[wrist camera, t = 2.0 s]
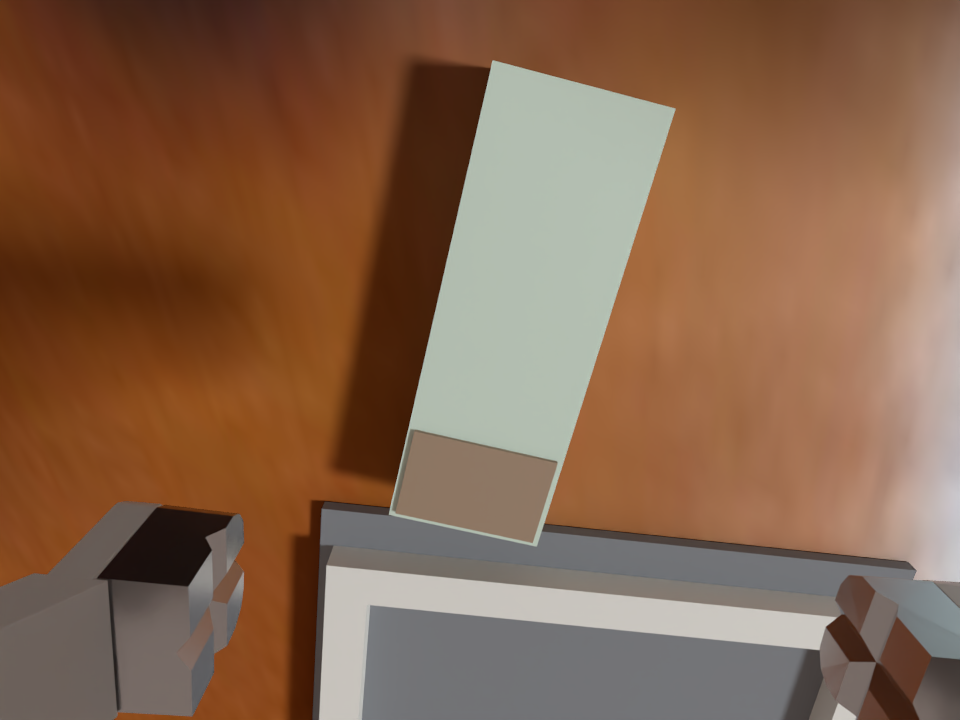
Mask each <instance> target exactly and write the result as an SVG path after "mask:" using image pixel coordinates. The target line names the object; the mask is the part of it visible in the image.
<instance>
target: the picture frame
mask: <svg viewBox="0 0 960 720" xmlns="http://www.w3.org/2000/svg"><path fill="white" fill-rule="evenodd" d="M389 511H390V508H383V507H374V506H364V505H354V504H345V503H335V502H326V501H325V502H324V504H323V507H322V513H321V536H320V559H319V582H318V604H317V627H316V650H315V673H314V696H313V719H312V720H856V716H855V715H854V714H852V713H851V712H850V711H848V710H847V709H846V708H844V707H843V706H842V705H840V704H839V703H838V702H836V701H835V699H834V697H833V696H832V694H831V692H830V691H829V689H828V687H827V686H826V683H825V680H824V677H823V674H822V671H821V664H820V645H821V641H822V638H823V634H824V631H825V627H826V626H827V625H829V624H830V623H831V622H832V621H834V620H835V619H836V618H837V617H839V616H840V615H841V612H840V610H839V608H838V606H837V603H836V601H835V598H836V596H837V593H838V590H839V587H840V584H841V583H842V582H843V581H844V580H845V579H846V578H847V576H848V575H857V576H870V577H883V578H896V579H909V580H913V578H914V576H915V573H916V570H915V569H914V568H913V566H912V565H911V564H910V563H909V562H900V561H891V560H881V559H872V558H862V557H852V556H843V555H833V554H824V553H814V552H805V551H795V550H785V549H776V548H766V547H757V546H747V545H738V544H728V543H718V542H709V541H699V540H690V539H680V538H670V537H661V536H651V535H642V534H632V533H623V532H613V531H603V530H594V529H584V528H575V527H565V526H556V525H546V524H544V525H543V529H542V532H541V535H540V538H539V541H538V544H537V547H536V546H531V545H527V544H522V543H517V542H513V541H508V540H503V539H499V538H494V537H489V536H485V535H480V534H475V533H471V532H466V531H461V530H457V529H452V528H447V527H443V526H438V525H434V524H429V523H424V522H420V521H415V520H410V519H406V518H401V517H396V516H392V515H389Z"/></svg>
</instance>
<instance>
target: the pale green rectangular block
mask: <svg viewBox="0 0 960 720" xmlns="http://www.w3.org/2000/svg"><path fill="white" fill-rule="evenodd" d="M674 112H675V108H671V107H667V106H664V105H660V104H656V103H652V102H648V101H645V100H641V99H637V98H633V97H629V96H626V95H622V94H618V93H614V92H611V91H607V90H603V89H599V88H595V87H592V86H588V85H584V84H580V83H577V82H573V81H569V80H565V79H561V78H558V77H554V76H550V75H546V74H543V73H539V72H535V71H531V70H527V69H524V68H520V67H516V66H512V65H509V64H505V63H501V62H497V61H492V66H491V70H490V74H489V79H488V83H487V87H486V92H485V96H484V100H483V105H482V109H481V114H480V118H479V122H478V127H477V131H476V135H475V140H474V144H473V149H472V153H471V157H470V162H469V166H468V170H467V175H466V179H465V183H464V188H463V192H462V197H461V201H460V205H459V210H458V214H457V218H456V223H455V227H454V232H453V236H452V240H451V245H450V249H449V253H448V258H447V262H446V266H445V271H444V275H443V280H442V284H441V288H440V293H439V297H438V301H437V306H436V310H435V314H434V319H433V323H432V328H431V332H430V336H429V341H428V345H427V349H426V354H425V358H424V363H423V367H422V371H421V376H420V380H419V384H418V389H417V393H416V397H415V402H414V406H413V411H412V415H411V419H410V424H409V428H408V432H407V437H406V441H405V446H404V450H403V454H402V459H401V463H400V467H399V472H398V476H397V480H396V485H395V489H394V494H393V498H392V502H391V507H390V511H389V515H392V516H396V517H401V518H406V519H410V520H415V521H420V522H424V523H429V524H434V525H438V526H443V527H447V528H452V529H457V530H461V531H466V532H471V533H475V534H480V535H485V536H489V537H494V538H499V539H503V540H508V541H513V542H517V543H522V544H527V545H531V546H536V547H537V544H538V541H539V538H540V535H541V532H542V529H543V525H544V522H545V519H546V516H547V513H548V510H549V506H550V503H551V500H552V497H553V494H554V491H555V488H556V484H557V481H558V478H559V475H560V472H561V469H562V465H563V462H564V459H565V456H566V453H567V450H568V447H569V443H570V440H571V437H572V434H573V431H574V428H575V424H576V421H577V418H578V415H579V412H580V409H581V406H582V402H583V399H584V396H585V393H586V390H587V387H588V383H589V380H590V377H591V374H592V371H593V368H594V365H595V361H596V358H597V355H598V352H599V349H600V346H601V342H602V339H603V336H604V333H605V330H606V327H607V324H608V320H609V317H610V314H611V311H612V308H613V305H614V302H615V298H616V295H617V292H618V289H619V286H620V283H621V279H622V276H623V273H624V270H625V267H626V264H627V261H628V257H629V254H630V251H631V248H632V245H633V242H634V238H635V235H636V232H637V229H638V226H639V223H640V220H641V216H642V213H643V210H644V207H645V204H646V201H647V197H648V194H649V191H650V188H651V185H652V182H653V179H654V175H655V172H656V169H657V166H658V163H659V160H660V156H661V153H662V150H663V147H664V144H665V141H666V138H667V134H668V131H669V128H670V125H671V122H672V119H673V115H674Z"/></svg>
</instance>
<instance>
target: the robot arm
mask: <svg viewBox="0 0 960 720" xmlns="http://www.w3.org/2000/svg"><path fill="white" fill-rule="evenodd" d="M243 543H244V532H243V520H242V518H241V516H240V514H238V513H229V512H221V511H212V510H204V509H196V508H187V507H179V506H170V505H163V506H162V505H161V504H155V503H143V502H132V501H124V502H119V503H117V504H115V505H114V506H113V507H112V508H111V509H110V510H109V511H108V512H107V513H106V514H105V516H104V517H103V518H102V519H101V520H100V521H99V522H98V523H97V524H96V525H95V526H94V527H93V528H92V529H91V530H90V531H89V532H88V533H87V534H86V535H85V536H84V537H83V538H82V539H81V540H80V541H79V542H78V543H77V544H76V545H75V546H74V547H73V548H72V549H71V550H70V551H69V553H68V554H67V555H66V556H65V557H64V558H63V559H62V560H61V561H60V562H59V563H58V564H57V565H56V566H55V567H54V568H53V569H52V570H51V571H50V572H49V573H48V574H47V575H45V574H32V575H29V576H27V577H24V578H22V579H19V580H17V581H14V582H12V583H9V584H7V585H4V586H2V587H0V720H113V719H114V718H116V717H117V712H126V713H143V714H161V715H178V716H193V714H194V712H195V710H196V708H197V706H198V704H199V702H200V700H201V698H202V696H203V694H204V692H205V690H206V688H207V686H208V684H209V681H210V679H211V677H212V675H213V673H214V654H215V653H216V652H218V651H219V650H221V649H222V648H224V647H226V646H227V645H228V642H229V640H230V638H231V636H232V634H233V631H234V629H235V626H236V623H237V619H238V616H239V612H240V608H241V604H242V596H243V588H244V571H243V570H242V569H241V567H240V566H239V565H238V563H237V562H236V561H235V558H236V556H237V554H238V552H239V551H240V549H241V547H242V545H243ZM835 601H836V603H837V606H838V608H839V610H840V612H841V615H840V616H839V617H837V618H836V619H835V620H834V621H832V622H831V623H830V624H829V625H827V626H826V627H825V631H824V634H823V638H822V641H821V645H820V664H821V671H822V674H823V677H824V680H825V683H826V686H827V687H828V689H829V691H830V692H831V694H832V696H833V697H834V699H835V701H836V702H838V703H839V704H840V705H842V706H843V707H844V708H846V709H847V710H848V711H850V712H851V713H852V714H854V715H855V716H856V720H960V582H946V581H930V580H909V579H896V578H883V577H870V576H857V575H848V576H847V578H846V579H845V580H844V581H843V582H842V583H841V584H840V587H839V590H838V593H837V596H836V598H835Z"/></svg>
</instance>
